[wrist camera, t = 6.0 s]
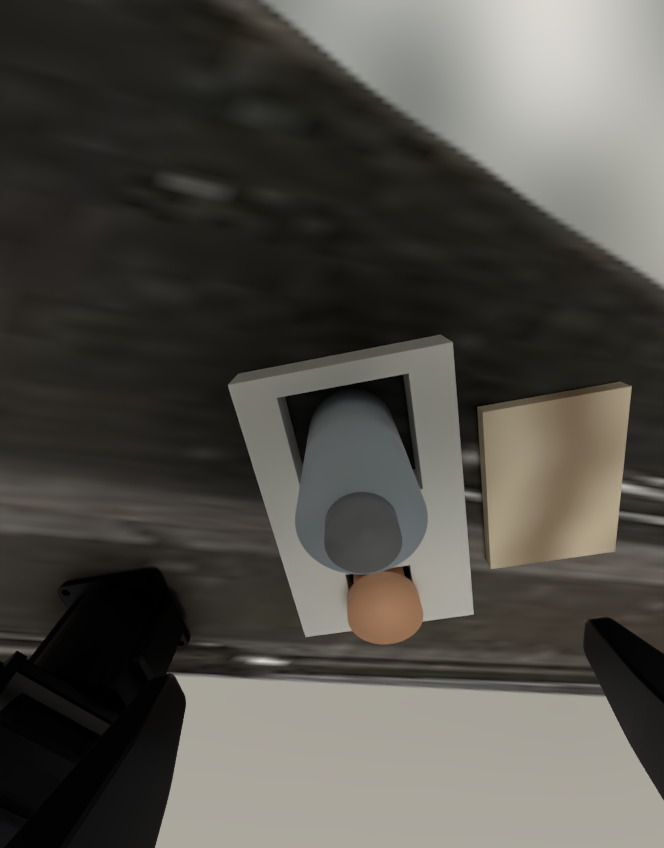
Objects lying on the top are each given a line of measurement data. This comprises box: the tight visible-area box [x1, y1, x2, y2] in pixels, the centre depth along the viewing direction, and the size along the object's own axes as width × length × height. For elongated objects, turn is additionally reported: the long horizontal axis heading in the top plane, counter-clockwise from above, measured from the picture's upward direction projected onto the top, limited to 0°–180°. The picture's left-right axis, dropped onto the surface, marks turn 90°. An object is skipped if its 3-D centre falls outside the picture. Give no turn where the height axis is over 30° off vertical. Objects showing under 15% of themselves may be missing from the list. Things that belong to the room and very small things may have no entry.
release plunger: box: [347, 566, 423, 644], centre depth 22 cm, size 4×4×3 cm
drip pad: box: [477, 382, 632, 569], centre depth 21 cm, size 7×10×1 cm
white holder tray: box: [228, 335, 474, 637], centre depth 21 cm, size 10×16×2 cm, turn 11°
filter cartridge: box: [295, 389, 428, 575], centre depth 16 cm, size 4×4×9 cm
